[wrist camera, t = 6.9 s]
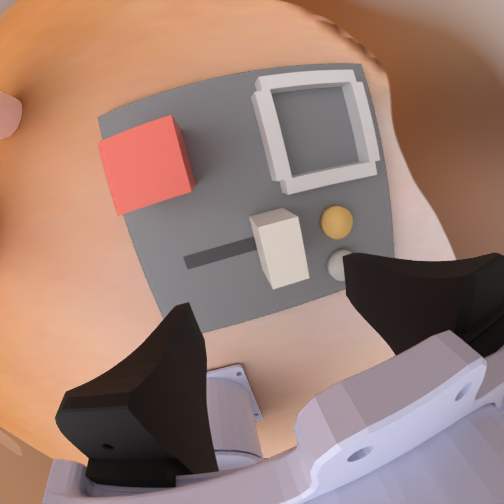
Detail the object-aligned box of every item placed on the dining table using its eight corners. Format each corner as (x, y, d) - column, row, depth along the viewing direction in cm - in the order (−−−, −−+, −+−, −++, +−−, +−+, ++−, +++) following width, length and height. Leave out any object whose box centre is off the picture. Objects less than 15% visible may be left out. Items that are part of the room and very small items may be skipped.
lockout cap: (196, 185, 17) (191, 191, 13) (140, 202, 17) (117, 216, 12) (181, 128, 16) (171, 114, 11) (125, 147, 16) (97, 142, 11)
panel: (387, 265, 23) (404, 276, 21) (174, 332, 22) (172, 351, 19) (353, 67, 17) (370, 58, 15) (103, 119, 16) (89, 113, 13)
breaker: (293, 260, 20) (309, 278, 17) (262, 269, 20) (272, 289, 17) (282, 207, 19) (297, 216, 15) (249, 216, 18) (257, 227, 15)
